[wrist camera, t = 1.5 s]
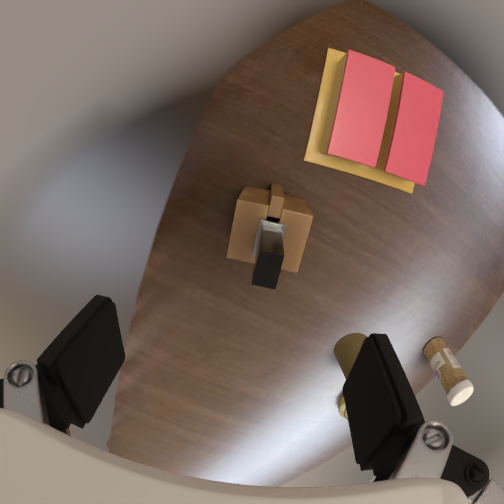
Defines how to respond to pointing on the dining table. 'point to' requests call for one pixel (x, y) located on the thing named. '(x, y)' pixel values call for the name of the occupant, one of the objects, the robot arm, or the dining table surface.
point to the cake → (374, 121)
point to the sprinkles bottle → (448, 371)
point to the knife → (268, 253)
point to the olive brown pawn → (348, 351)
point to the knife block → (284, 211)
